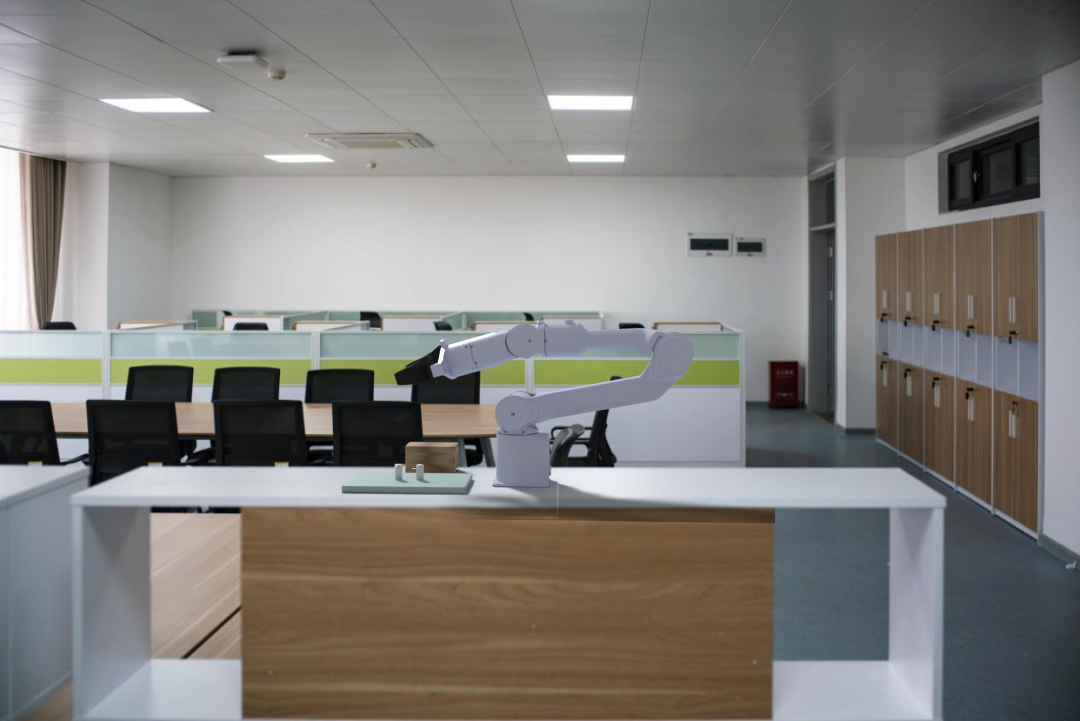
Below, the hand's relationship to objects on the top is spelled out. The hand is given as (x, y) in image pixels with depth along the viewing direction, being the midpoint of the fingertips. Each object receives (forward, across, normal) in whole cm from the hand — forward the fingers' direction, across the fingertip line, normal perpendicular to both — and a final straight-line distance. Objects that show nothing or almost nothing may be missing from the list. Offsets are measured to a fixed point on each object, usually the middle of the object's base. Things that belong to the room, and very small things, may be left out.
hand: (401, 375), depth 155 cm
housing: (+2, -5, +19) cm, 20 cm away
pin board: (+2, +8, +17) cm, 19 cm away
